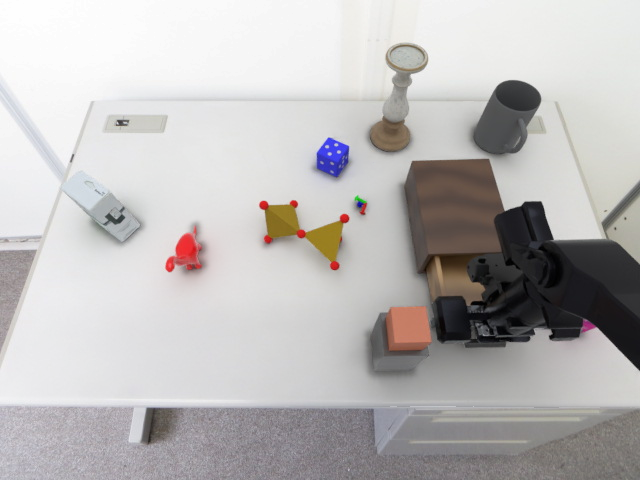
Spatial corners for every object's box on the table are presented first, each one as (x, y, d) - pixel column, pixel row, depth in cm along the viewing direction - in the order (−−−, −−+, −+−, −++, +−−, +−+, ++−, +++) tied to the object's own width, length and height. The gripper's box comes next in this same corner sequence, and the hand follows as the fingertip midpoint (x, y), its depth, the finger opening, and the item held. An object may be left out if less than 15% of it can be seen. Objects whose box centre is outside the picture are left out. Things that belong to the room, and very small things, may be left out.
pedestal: (410, 370, 61) (429, 355, 50) (373, 371, 61) (384, 356, 50) (405, 333, 64) (422, 311, 53) (370, 334, 64) (379, 312, 53)
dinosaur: (205, 224, 74) (185, 187, 63) (204, 296, 67) (181, 268, 56) (185, 227, 74) (161, 190, 63) (182, 299, 67) (154, 272, 56)
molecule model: (285, 178, 78) (276, 152, 66) (368, 204, 76) (375, 182, 64) (257, 251, 75) (243, 237, 63) (343, 280, 73) (345, 271, 61)
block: (423, 349, 50) (432, 342, 46) (388, 350, 50) (394, 343, 46) (418, 316, 52) (426, 306, 48) (385, 317, 52) (390, 306, 48)
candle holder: (403, 156, 82) (425, 77, 64) (365, 145, 83) (376, 65, 65) (413, 128, 85) (437, 46, 68) (376, 118, 87) (390, 35, 69)
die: (348, 161, 81) (349, 145, 77) (337, 177, 79) (337, 162, 75) (328, 152, 82) (328, 136, 78) (316, 168, 80) (316, 152, 76)
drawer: (517, 351, 61) (536, 343, 56) (435, 353, 61) (446, 345, 56) (485, 229, 72) (499, 212, 66) (415, 231, 72) (423, 214, 66)
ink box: (93, 221, 75) (56, 186, 64) (113, 204, 77) (79, 167, 66) (122, 243, 72) (88, 211, 62) (142, 225, 74) (112, 190, 64)
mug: (468, 124, 86) (488, 80, 75) (508, 122, 86) (533, 78, 75) (483, 172, 79) (507, 131, 69) (526, 170, 80) (557, 128, 69)
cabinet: (497, 271, 69) (517, 251, 62) (417, 273, 69) (428, 254, 62) (474, 184, 78) (489, 158, 71) (403, 186, 78) (411, 160, 71)
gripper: (583, 239, 49) (526, 283, 63) (440, 243, 49) (415, 286, 63) (617, 324, 44) (547, 351, 58) (456, 328, 44) (425, 354, 58)
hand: (481, 333), depth 59 cm, fingers closed
